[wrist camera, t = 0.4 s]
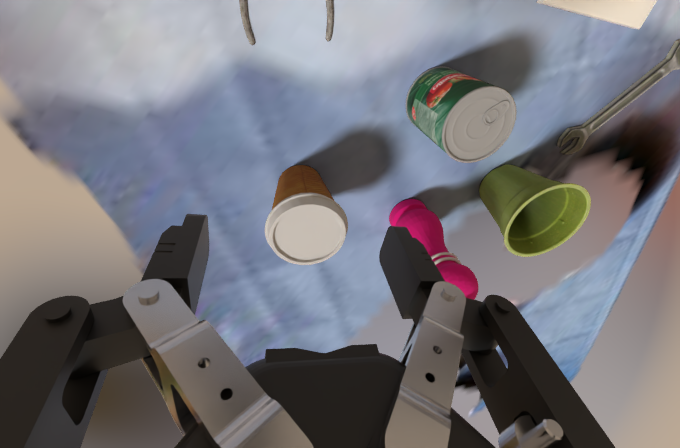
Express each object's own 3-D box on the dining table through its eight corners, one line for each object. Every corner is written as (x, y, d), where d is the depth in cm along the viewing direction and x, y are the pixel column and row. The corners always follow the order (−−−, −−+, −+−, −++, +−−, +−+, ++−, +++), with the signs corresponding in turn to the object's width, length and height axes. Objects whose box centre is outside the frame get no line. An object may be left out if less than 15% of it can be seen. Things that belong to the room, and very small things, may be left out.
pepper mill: (399, 190, 48) (463, 286, 32) (436, 202, 51) (512, 296, 35) (378, 226, 51) (426, 329, 36) (414, 236, 54) (473, 336, 38)
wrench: (692, 55, 44) (701, 56, 43) (561, 157, 50) (567, 160, 49) (688, 27, 41) (697, 28, 40) (551, 138, 48) (557, 141, 47)
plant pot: (545, 145, 48) (608, 180, 39) (519, 209, 55) (568, 251, 46) (473, 152, 46) (522, 189, 37) (457, 217, 53) (494, 261, 44)
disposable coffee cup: (314, 220, 48) (324, 276, 39) (255, 199, 44) (251, 254, 35) (345, 170, 44) (365, 218, 35) (283, 141, 40) (287, 186, 31)
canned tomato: (425, 140, 44) (463, 176, 35) (393, 98, 40) (428, 128, 31) (473, 100, 41) (527, 127, 33) (445, 50, 37) (499, 67, 28)
